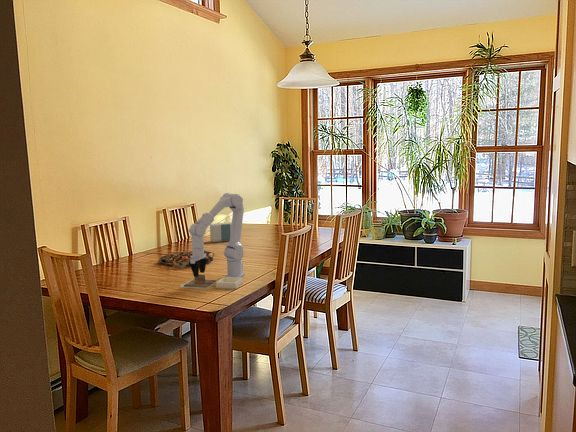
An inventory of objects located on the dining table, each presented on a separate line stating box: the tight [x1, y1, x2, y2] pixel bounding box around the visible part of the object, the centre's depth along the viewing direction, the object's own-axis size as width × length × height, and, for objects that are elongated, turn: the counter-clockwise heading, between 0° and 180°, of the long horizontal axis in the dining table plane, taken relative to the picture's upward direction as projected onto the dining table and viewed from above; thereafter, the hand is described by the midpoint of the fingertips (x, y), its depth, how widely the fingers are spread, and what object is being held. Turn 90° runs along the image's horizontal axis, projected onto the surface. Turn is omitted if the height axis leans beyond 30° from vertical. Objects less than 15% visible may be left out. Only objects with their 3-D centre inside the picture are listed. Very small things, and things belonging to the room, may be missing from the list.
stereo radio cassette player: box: [209, 213, 233, 243], centre depth 359 cm, size 21×8×20 cm, turn 113°
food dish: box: [158, 249, 215, 269], centre depth 293 cm, size 35×33×8 cm
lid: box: [184, 274, 217, 288], centre depth 242 cm, size 12×12×4 cm
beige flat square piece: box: [178, 278, 218, 290], centre depth 243 cm, size 14×15×1 cm
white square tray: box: [215, 276, 243, 290], centre depth 239 cm, size 10×10×3 cm
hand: (199, 274), depth 242 cm, fingers open, 7 cm apart
